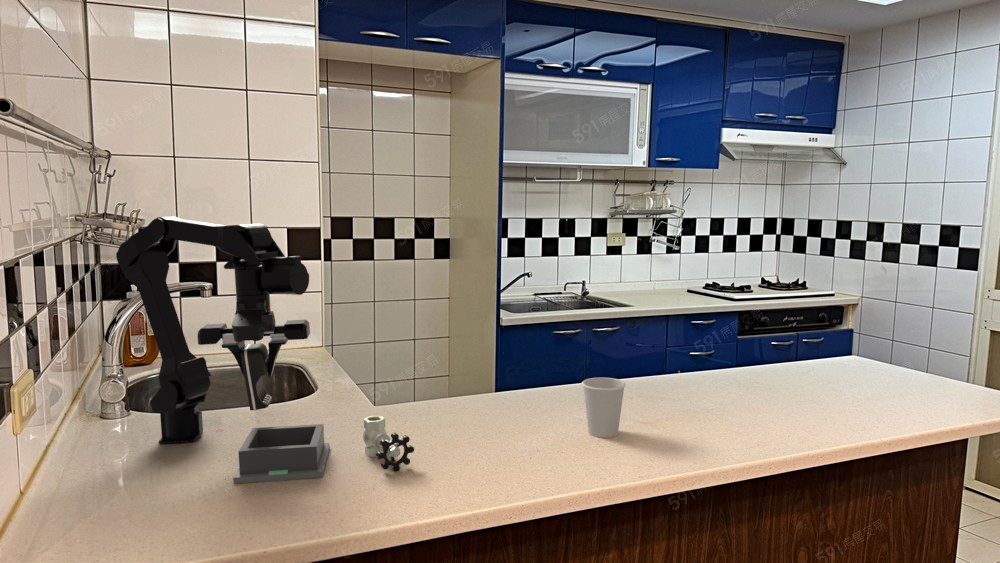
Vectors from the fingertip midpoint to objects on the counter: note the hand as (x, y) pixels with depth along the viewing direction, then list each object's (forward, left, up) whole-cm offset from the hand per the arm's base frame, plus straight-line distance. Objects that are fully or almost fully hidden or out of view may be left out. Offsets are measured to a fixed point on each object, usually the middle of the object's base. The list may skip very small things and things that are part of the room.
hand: (258, 378), depth 129 cm
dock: (+5, -9, -13) cm, 17 cm away
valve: (+22, -10, -14) cm, 28 cm away
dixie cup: (+64, -3, -14) cm, 66 cm away
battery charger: (+1, 0, -5) cm, 5 cm away
